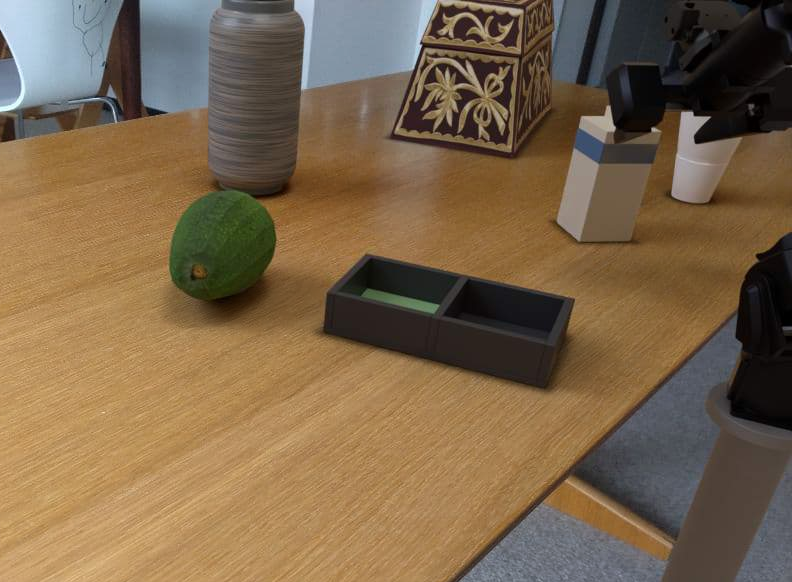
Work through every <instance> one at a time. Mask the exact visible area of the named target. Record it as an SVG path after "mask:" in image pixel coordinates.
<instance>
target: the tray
mask: <svg viewBox="0 0 792 582" xmlns="http://www.w3.org/2000/svg"><path fill="white" fill-rule="evenodd" d="M575 302H576V298H574V297H569V296H566V295H560V294H555V293H552V292H546V291H542V290H537V289H533V288H528V287H524V286H519V285H515V284H510V283H505V282H500V281H496V280H491V279H486V278H482V277H477V276H473V275H469V274H463V273H459V272H454V271H449V270H444V269H441V268H435V267H431V266H427V265H421V264H417V263H414V262H413V263H412V262H408V261H404V260H399V259H393V258H389V257H385V256H380V255H377V254H372V253H371V254H370V253H365V254H364V255H363V256H362V257H361V258H360V259H359V260H358V261H357V262H356V263H355V264H354V265H352V267H351V268H350V269H349V270H348V271H346V273H345V274H344V275H342V277H341V278H339V280H338V281H337V282H335V283H334V284H333V286H332V287H331V288H329V289H328V290H327V292H326V298H325V308H324V318H323V327H322V328H323V329H322V332H323V333H326V334H330V335H333V336H337V337H340V338H346V339H349V340H353V341H357V342H360V343H365V344H369V345H372V346H375V347H376V346H377V347H379V348H385V349H388V350H392V351H396V352H400V353H404V354H408V355H412V356H415V357H420V358H423V359H428V360H431V361H436V362H440V363H443V364H447V365H451V366H454V367H458V368H462V369H467V370H471V371H475V372H479V373H482V374H487V375H491V376H495V377H499V378H502V379H506V380H510V381H514V382H517V383H522V384H525V385H530V386H533V387H538V388H541V389H545V388H546V386H547V383H548V381H549V379H550V377H551V373H552V371H553V369H554V366H555V364H556V361H557V359H558V356H559V354H560V351H561V349H562V346H563V344H564V342H565V339H566V336H567V333H568V329H569V324H570V321H571V318H572V317H571V316H572V313H573V310H574V305H575Z"/></svg>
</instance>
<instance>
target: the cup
mask: <svg viewBox="0 0 792 582" xmlns="http://www.w3.org/2000/svg"><path fill="white" fill-rule="evenodd" d="M680 114H681V115H680V123H679V128H678V129H679V131H678V137H677V138H678V139H677V147H676V148H677V152H676V155H675V162H674V169H673V170H674V171H673V177H672V179H673V180H672V187H671V192H670V193H671V194H670V195H671V197H673V198H674V199H676V200H678V201H682V202H685V203H690V204H706V203H709V202H710V200H711V198H712V197H713V194H714V192H715V191H716V189H717V186H718V185H719V183H720V181H721V179H722V177H723V176H724V174H725V172H726V170H727V169H728V166H729V164H730V161H731V159H732V157H733V156H734V154H735V153H736V150H737V149H738V147H739V145H740V143H741V141H742V140H743V137H738V138H732V139H726V140H720V141H715V142H709V143H704V144H695V142H694V134H695V133H696V132H697V131H698V130H699V128H700V127H701V126H702V125H703V124H704V123H705V122H706V121H707V120H708V119H709V118H710V117H694V115H693V112H680Z"/></svg>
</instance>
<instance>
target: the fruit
mask: <svg viewBox="0 0 792 582" xmlns="http://www.w3.org/2000/svg"><path fill="white" fill-rule="evenodd" d="M276 233H277V232H276V226H275V221H274V219H273V218H272V216H271V214H270V213H269V211H268V209H267V208H266V207H265V206H263V204H261V202H259V201H258V199H256V198H254V197H253V195H249V194H246V193H242V192H239V191H235V190H229V191H226V190H215V191H214V190H213V191H211V192H209V193H206V194H204V195H202V196H200V197H198V198H197V199H196V200H194V201H193V202H192V203H191V204H190V205H189V206H188V207H187V208H186V209H185V210H184V211H183V212H182V214H181V215H180V218H179V219H178V221H177V223H176V226H175V228H174V232H173V235H172V237H171V243H170V249H169V260H168V261H169V262H168V263H169V264H168V266H169V267H168V268H169V269H168V270H169V275H170V277H171V282H172V283H173V284H174V285H175V287H176V288H178V289H179V290H180V291H182V292H183V293H184V294H186V295H187V296H188V297H191V298H194V299H196V300H202V301H213V300H217V299H222V298H227V297H231V296H235V295H238V294H240V293H242V292H243V291H245V290H247V289H248V288H250V287H252V286H253V285H255V283H256V282H257V281H259V279H261V278H262V276H263V275H264V273H265V271H266V270H267V269H268V267H269V265H270V264H271V262H272V260H273V258H274V255H275V252H276V251H275V250H276V244H277V240H278V239H277V234H276Z"/></svg>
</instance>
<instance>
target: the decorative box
mask: <svg viewBox="0 0 792 582" xmlns="http://www.w3.org/2000/svg"><path fill="white" fill-rule="evenodd" d="M554 12H555V9H554V0H437V2H436V4H435V6H434V8H433V11H432V13H431V16H430V18H429V20H428V22H427V25H426V28H425V29H424V32H423V34H422V37H421V39H420V40H419V41H420V42H419V45H421V46H420V50H419V53H418V56H417V57H416V61H415V64H414V67H413V69H412V73H411V76H410V78H409V81H408V84H407V87H406V90H405V93H404V95H403V99H402V102H401V104H400V107H399V110H398V113H397V116H396V119H395V122H394V125H393V128H392V130H391V133H390V136H389V139H391V140H397V141H398V140H399V141H403V142H409V143H410V142H411V143H416V144H422V145H429V146H435V147H442V148H449V149H454V150H455V149H456V150H460V151H461V150H462V151H465V152H466V151H467V152H471V153H472V152H473V153H478V154H484V155H490V156H495V157H496V156H497V157H503V158H508V159H514V158H515V157H516V156H517V155H518V153H519V152H520V151H521V149H522V148H523V146H524V145H525V144H526V143H527V141H528V140H529V138H530V137H531V136H533V134H534V132H535V131H536V130H537V128H538V127H539V126H540V125H541V123H542V122H543V121H544V119H545V118H546V117H547V116H548V114H549V113H550V112H551V110H552V86H553V85H552V84H553V83H552V81H553V79H552V78H553V74H552V73H553V72H552V71H553V32H554V31H555V30H556V28H555V27H556V26H555V13H554Z"/></svg>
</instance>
